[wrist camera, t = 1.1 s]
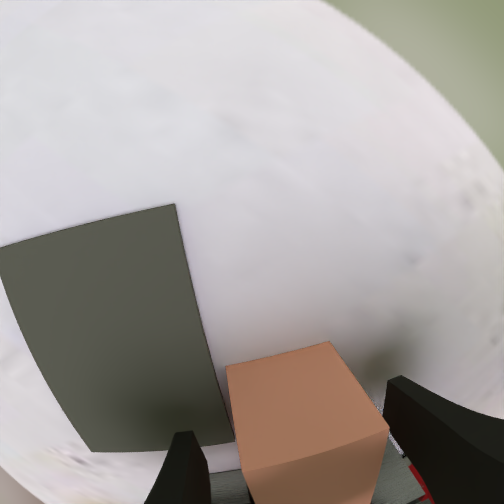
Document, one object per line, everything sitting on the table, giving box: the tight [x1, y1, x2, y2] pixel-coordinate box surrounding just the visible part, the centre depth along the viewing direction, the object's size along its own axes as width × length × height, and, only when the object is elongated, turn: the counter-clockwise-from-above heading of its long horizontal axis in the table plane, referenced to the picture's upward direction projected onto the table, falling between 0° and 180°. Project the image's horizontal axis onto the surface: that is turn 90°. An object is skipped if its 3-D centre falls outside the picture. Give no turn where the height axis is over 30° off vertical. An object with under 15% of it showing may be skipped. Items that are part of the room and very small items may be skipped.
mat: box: [0, 204, 235, 452], centre depth 10 cm, size 7×10×1 cm
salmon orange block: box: [226, 341, 390, 504], centre depth 10 cm, size 4×10×5 cm, turn 10°
